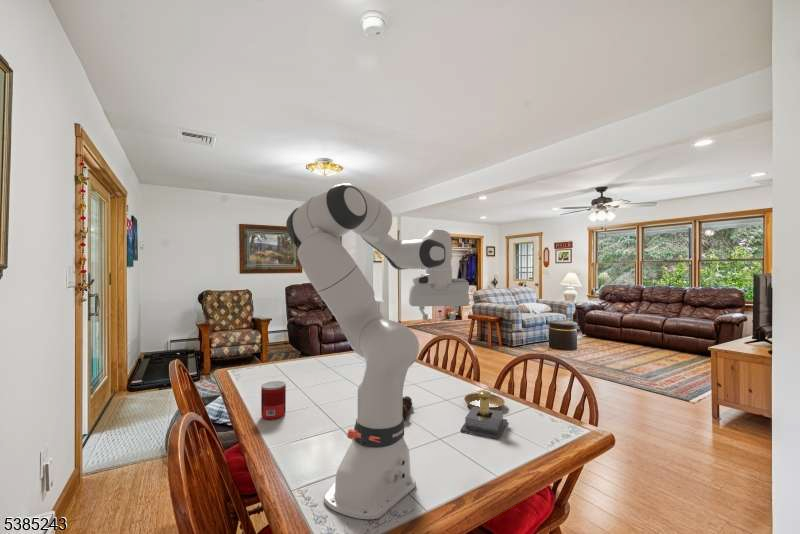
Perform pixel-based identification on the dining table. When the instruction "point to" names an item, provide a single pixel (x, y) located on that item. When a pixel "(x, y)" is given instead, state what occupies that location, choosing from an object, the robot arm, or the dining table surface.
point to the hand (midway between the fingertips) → (438, 319)
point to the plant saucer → (492, 400)
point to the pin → (484, 403)
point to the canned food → (273, 400)
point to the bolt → (406, 406)
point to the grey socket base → (484, 423)
